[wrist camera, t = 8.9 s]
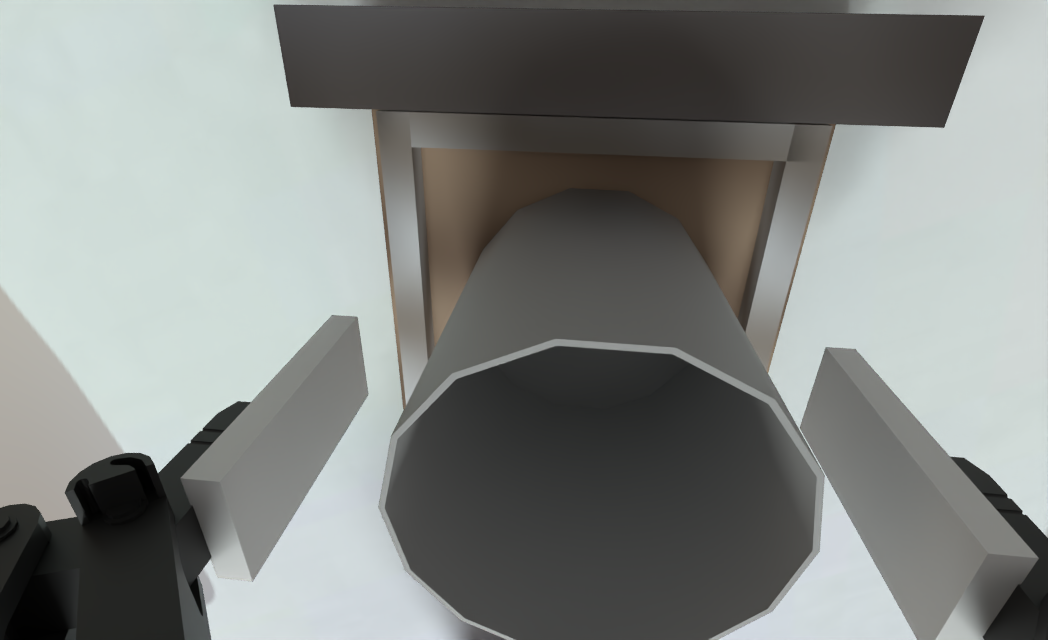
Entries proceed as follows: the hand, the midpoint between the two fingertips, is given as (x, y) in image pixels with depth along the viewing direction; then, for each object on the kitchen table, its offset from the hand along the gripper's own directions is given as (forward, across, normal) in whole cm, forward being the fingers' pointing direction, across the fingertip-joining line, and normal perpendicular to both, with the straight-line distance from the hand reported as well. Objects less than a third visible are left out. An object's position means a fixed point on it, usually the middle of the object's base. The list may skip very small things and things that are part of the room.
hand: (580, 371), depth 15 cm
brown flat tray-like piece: (+5, 0, +1) cm, 5 cm away
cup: (+4, 0, 0) cm, 5 cm away
